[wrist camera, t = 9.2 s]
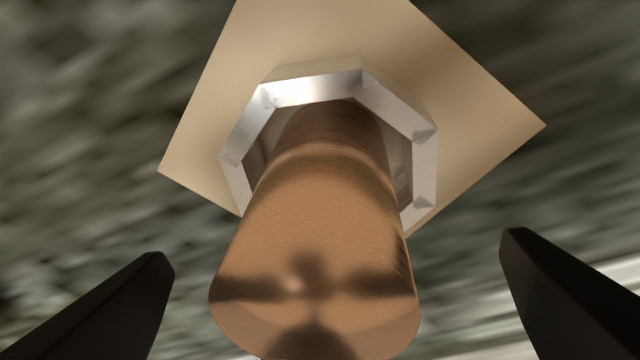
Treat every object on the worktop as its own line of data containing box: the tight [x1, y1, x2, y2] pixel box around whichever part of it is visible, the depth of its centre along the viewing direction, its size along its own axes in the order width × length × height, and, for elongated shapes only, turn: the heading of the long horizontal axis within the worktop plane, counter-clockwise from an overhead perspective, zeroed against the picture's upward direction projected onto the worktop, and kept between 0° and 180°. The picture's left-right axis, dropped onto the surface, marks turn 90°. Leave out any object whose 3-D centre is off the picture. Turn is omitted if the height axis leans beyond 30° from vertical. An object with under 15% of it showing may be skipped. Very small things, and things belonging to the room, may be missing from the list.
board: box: [157, 0, 546, 239], centre depth 14 cm, size 12×12×1 cm
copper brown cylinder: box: [209, 99, 421, 360], centre depth 10 cm, size 4×4×8 cm
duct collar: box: [217, 52, 438, 232], centre depth 12 cm, size 8×8×2 cm
